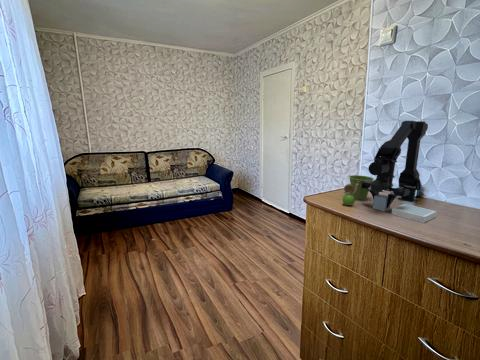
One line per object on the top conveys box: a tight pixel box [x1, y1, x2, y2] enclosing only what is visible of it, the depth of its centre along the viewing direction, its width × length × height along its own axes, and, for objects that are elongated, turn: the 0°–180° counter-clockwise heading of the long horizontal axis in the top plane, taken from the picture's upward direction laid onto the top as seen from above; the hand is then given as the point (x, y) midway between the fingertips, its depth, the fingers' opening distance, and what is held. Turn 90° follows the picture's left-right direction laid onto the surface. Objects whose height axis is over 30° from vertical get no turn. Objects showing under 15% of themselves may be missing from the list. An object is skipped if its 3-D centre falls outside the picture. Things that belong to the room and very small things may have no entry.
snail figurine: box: [342, 181, 359, 206], centre depth 116 cm, size 5×6×12 cm
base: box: [391, 203, 437, 224], centre depth 104 cm, size 12×12×3 cm
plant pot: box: [348, 174, 375, 201], centre depth 127 cm, size 12×12×11 cm
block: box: [372, 193, 391, 212], centre depth 112 cm, size 5×5×6 cm
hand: (381, 206), depth 112 cm, fingers closed on block, 5 cm apart
